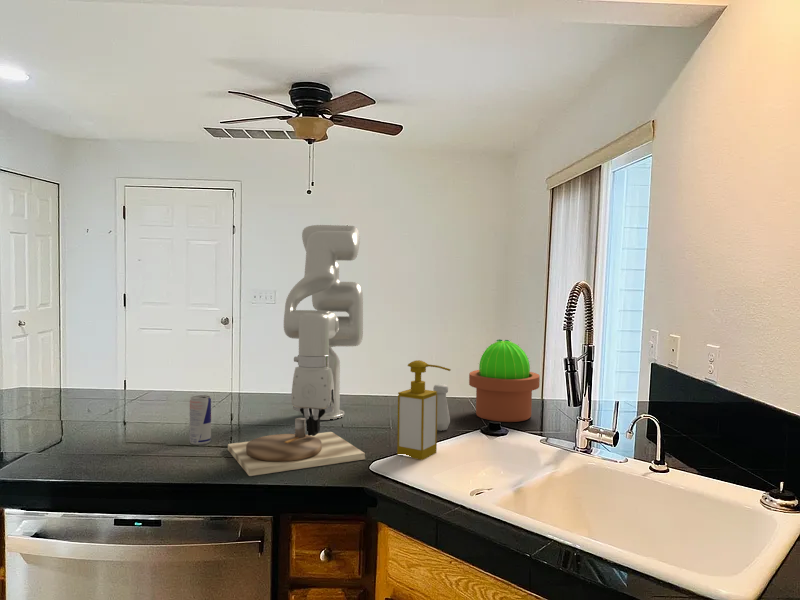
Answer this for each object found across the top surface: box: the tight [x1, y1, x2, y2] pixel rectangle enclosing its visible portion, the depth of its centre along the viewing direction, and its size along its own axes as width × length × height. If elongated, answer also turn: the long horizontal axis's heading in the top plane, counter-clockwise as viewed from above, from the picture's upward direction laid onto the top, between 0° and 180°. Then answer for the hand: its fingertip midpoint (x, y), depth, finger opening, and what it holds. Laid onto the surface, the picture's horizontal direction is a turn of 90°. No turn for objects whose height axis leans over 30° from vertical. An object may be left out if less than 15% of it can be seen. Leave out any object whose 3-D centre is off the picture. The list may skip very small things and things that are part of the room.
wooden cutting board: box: [227, 431, 366, 477], centre depth 148 cm, size 22×28×2 cm
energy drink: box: [189, 394, 212, 446], centre depth 157 cm, size 5×5×12 cm
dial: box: [246, 417, 322, 461], centre depth 145 cm, size 18×18×6 cm
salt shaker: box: [432, 383, 451, 431], centre depth 174 cm, size 6×6×13 cm
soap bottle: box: [396, 360, 452, 461], centre depth 148 cm, size 7×13×24 cm, turn 58°
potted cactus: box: [468, 339, 541, 423], centre depth 191 cm, size 22×22×25 cm
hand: (313, 434), depth 151 cm, fingers closed
